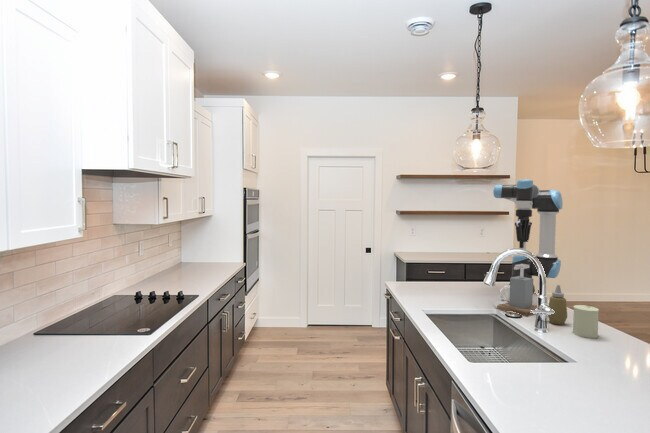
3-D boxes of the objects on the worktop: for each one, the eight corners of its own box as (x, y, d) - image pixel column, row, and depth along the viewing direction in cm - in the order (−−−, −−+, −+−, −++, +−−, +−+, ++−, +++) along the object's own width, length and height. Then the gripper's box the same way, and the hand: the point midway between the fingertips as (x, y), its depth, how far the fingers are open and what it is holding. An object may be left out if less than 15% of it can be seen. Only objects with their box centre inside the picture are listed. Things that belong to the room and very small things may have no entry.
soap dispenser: (517, 303, 206) (518, 276, 206) (532, 307, 200) (533, 278, 199) (509, 305, 202) (510, 277, 201) (524, 309, 195) (525, 280, 195)
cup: (519, 301, 218) (520, 287, 218) (503, 302, 217) (503, 288, 217) (512, 298, 225) (512, 285, 225) (496, 298, 224) (496, 285, 224)
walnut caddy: (515, 304, 213) (515, 300, 213) (544, 311, 200) (545, 307, 199) (496, 309, 202) (496, 305, 202) (527, 316, 189) (527, 312, 189)
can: (600, 334, 164) (601, 307, 164) (594, 339, 158) (595, 311, 158) (576, 329, 171) (577, 302, 171) (569, 333, 165) (570, 306, 165)
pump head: (521, 281, 204) (521, 263, 204) (528, 282, 201) (529, 264, 200) (510, 283, 198) (511, 265, 198) (518, 285, 195) (518, 266, 194)
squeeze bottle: (555, 319, 185) (557, 283, 184) (571, 325, 177) (572, 286, 176) (543, 321, 182) (544, 283, 182) (558, 326, 175) (559, 287, 174)
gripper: (524, 209, 192) (523, 255, 193) (537, 209, 200) (536, 254, 200) (510, 208, 198) (508, 254, 199) (523, 209, 206) (521, 252, 206)
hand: (522, 254), depth 200 cm, fingers closed
